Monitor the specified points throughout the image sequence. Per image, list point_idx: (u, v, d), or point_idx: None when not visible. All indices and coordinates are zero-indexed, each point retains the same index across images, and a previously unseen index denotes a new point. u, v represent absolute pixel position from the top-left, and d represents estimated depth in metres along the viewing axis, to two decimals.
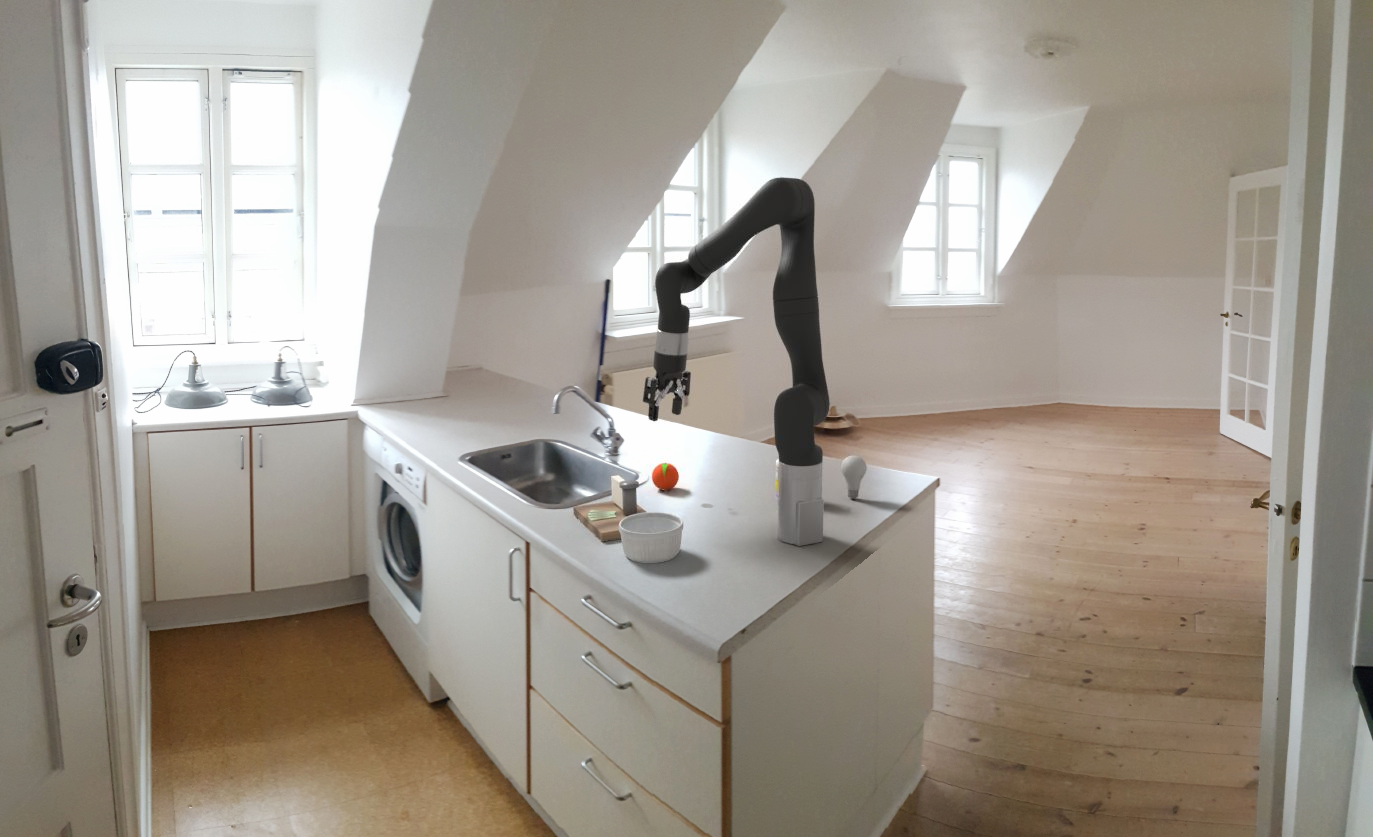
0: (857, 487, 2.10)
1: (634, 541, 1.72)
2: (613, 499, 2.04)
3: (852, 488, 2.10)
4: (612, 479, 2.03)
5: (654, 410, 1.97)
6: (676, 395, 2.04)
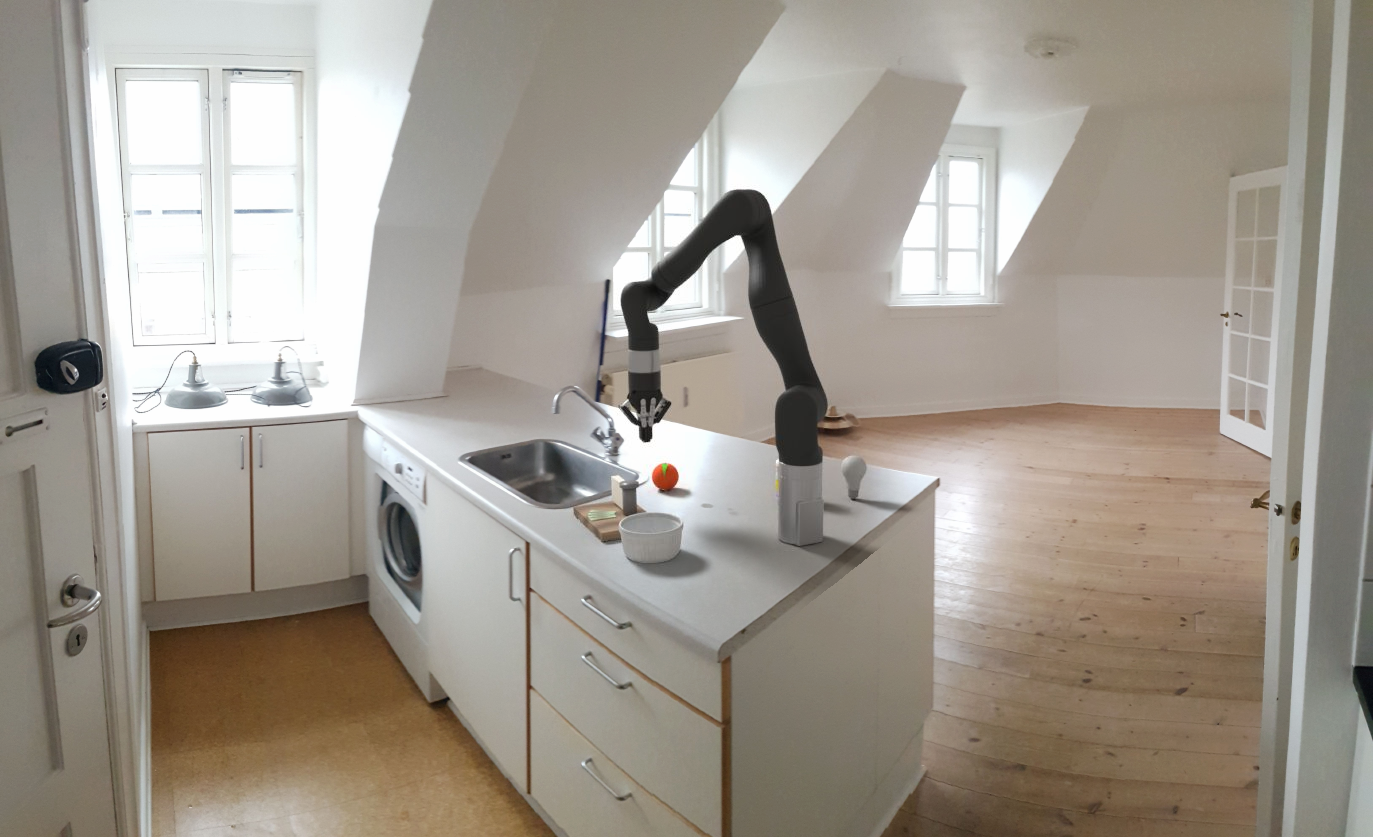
0: (857, 487, 2.10)
1: (634, 541, 1.72)
2: (613, 499, 2.04)
3: (852, 488, 2.10)
4: (612, 479, 2.03)
5: (642, 431, 2.01)
6: (646, 422, 2.02)
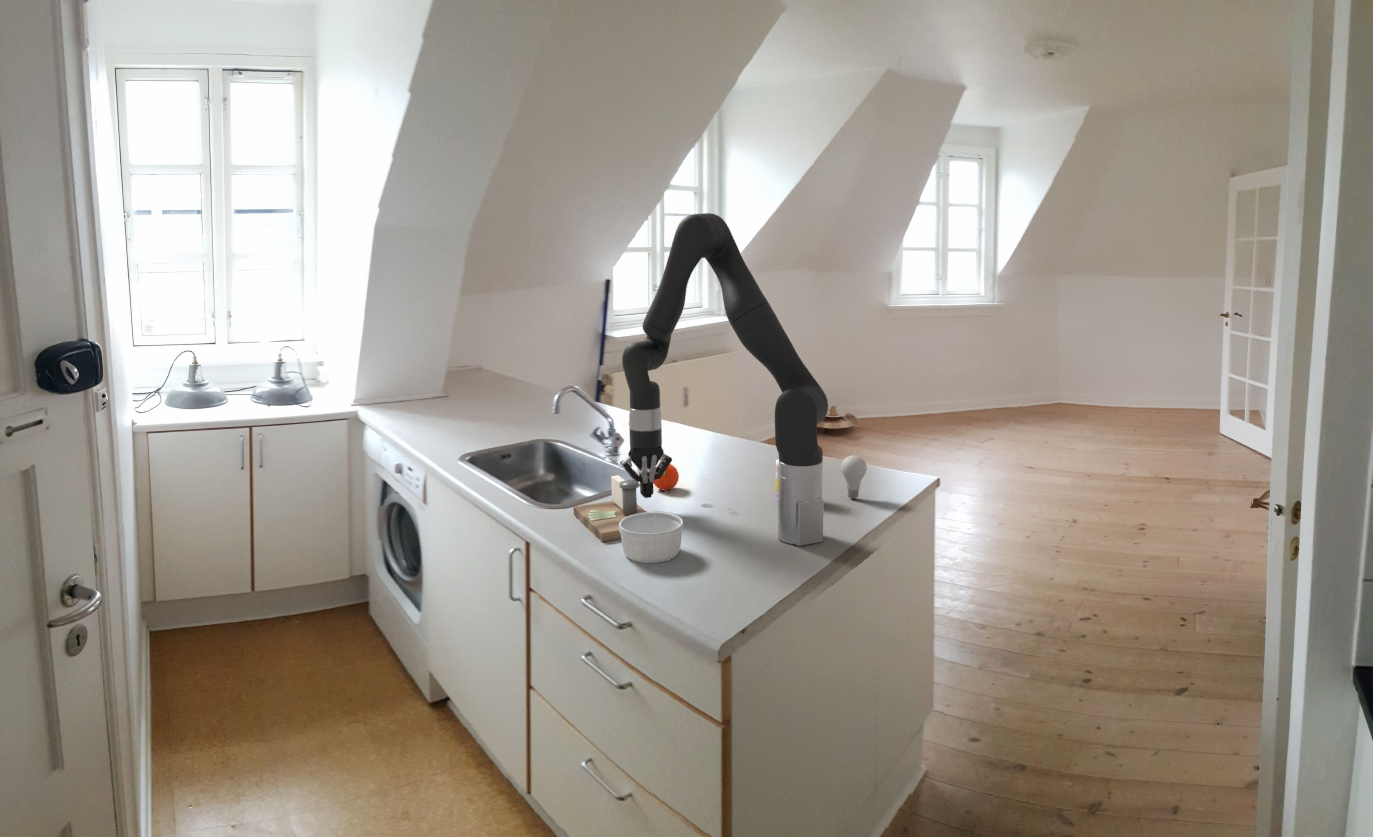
0: (857, 487, 2.10)
1: (634, 541, 1.72)
2: (613, 499, 2.04)
3: (852, 488, 2.10)
4: (612, 479, 2.03)
5: (643, 487, 2.04)
6: (647, 478, 2.05)
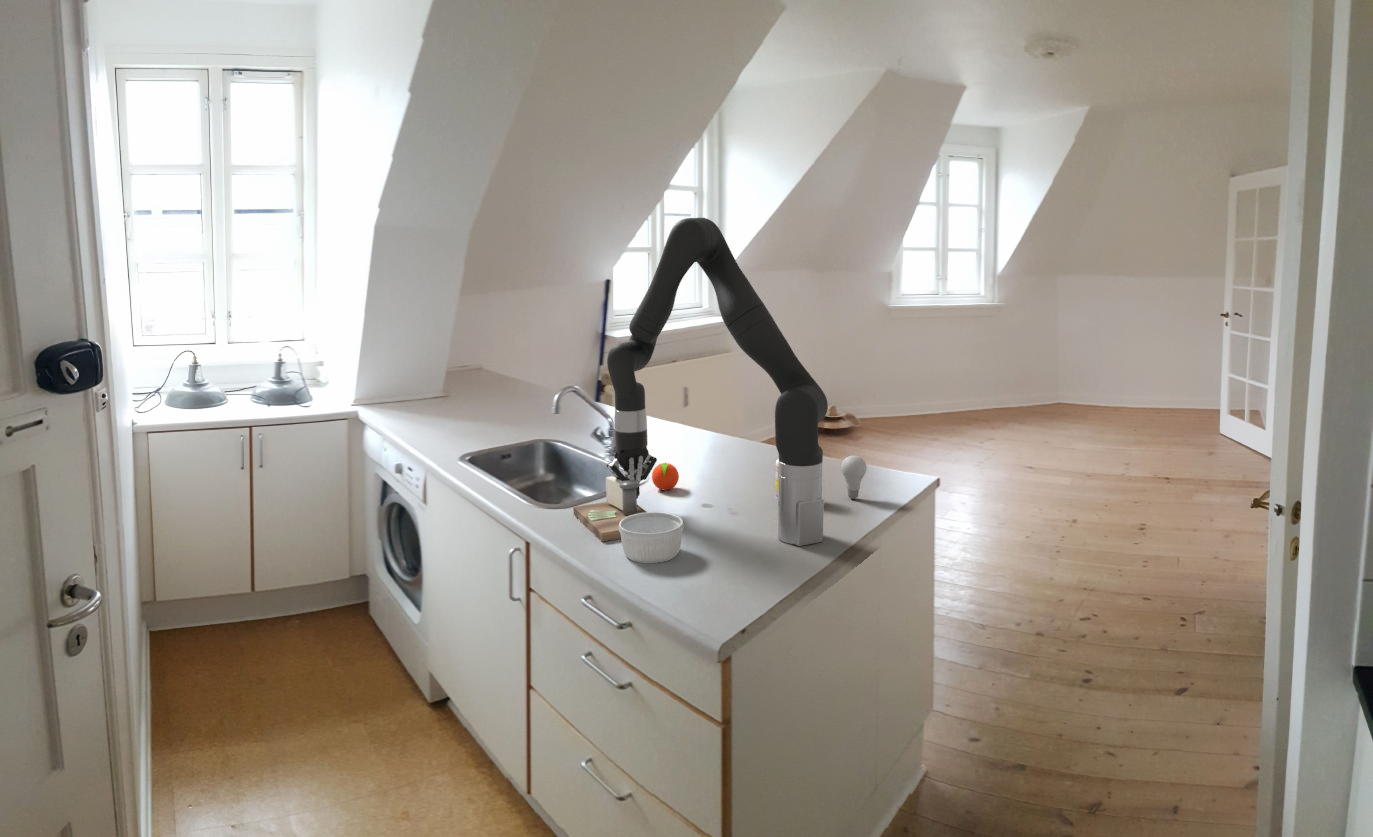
0: (857, 487, 2.10)
1: (634, 541, 1.72)
2: (608, 500, 2.03)
3: (852, 488, 2.10)
4: (607, 480, 2.02)
5: None
6: None
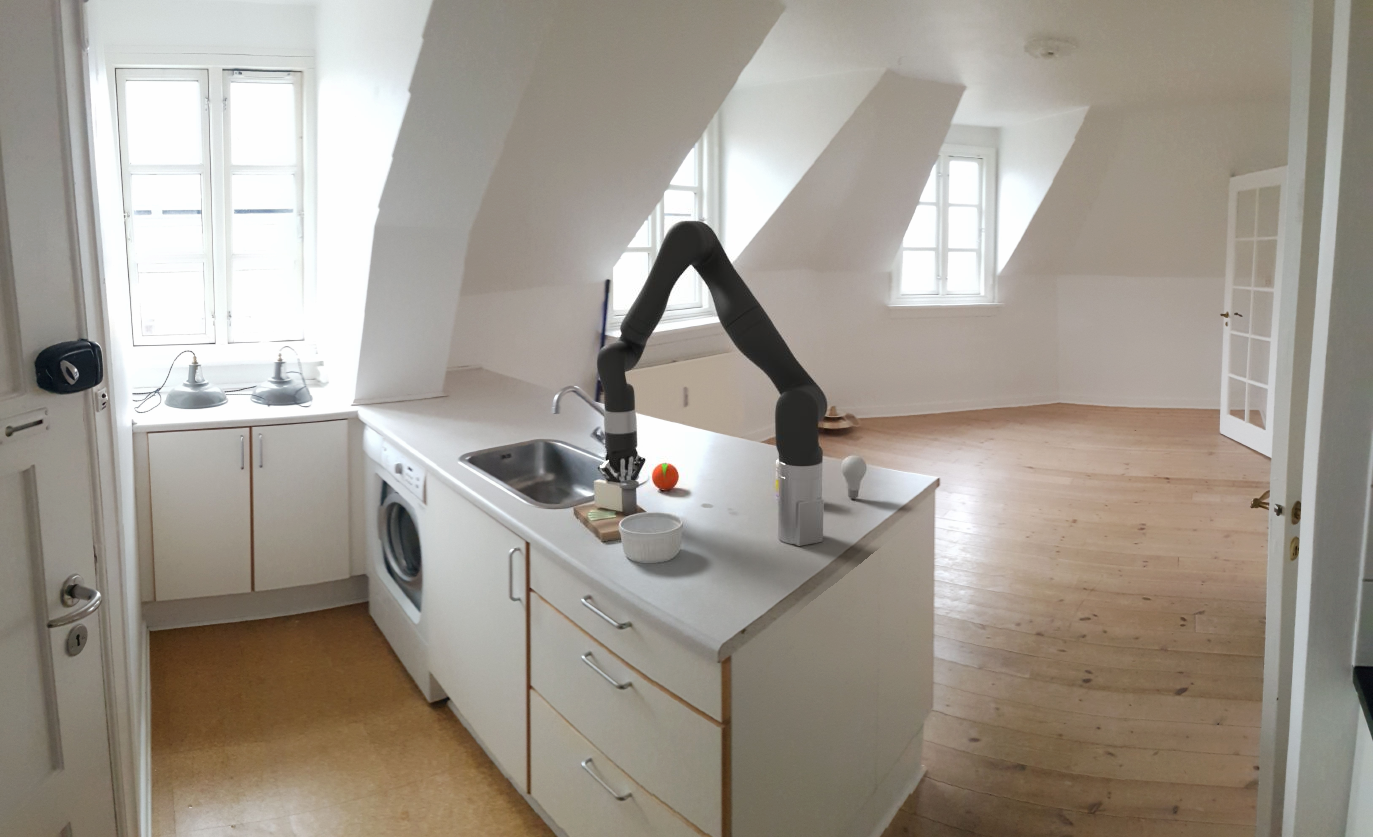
0: (857, 487, 2.10)
1: (634, 541, 1.72)
2: (598, 504, 2.01)
3: (852, 488, 2.10)
4: (596, 484, 2.00)
5: None
6: None
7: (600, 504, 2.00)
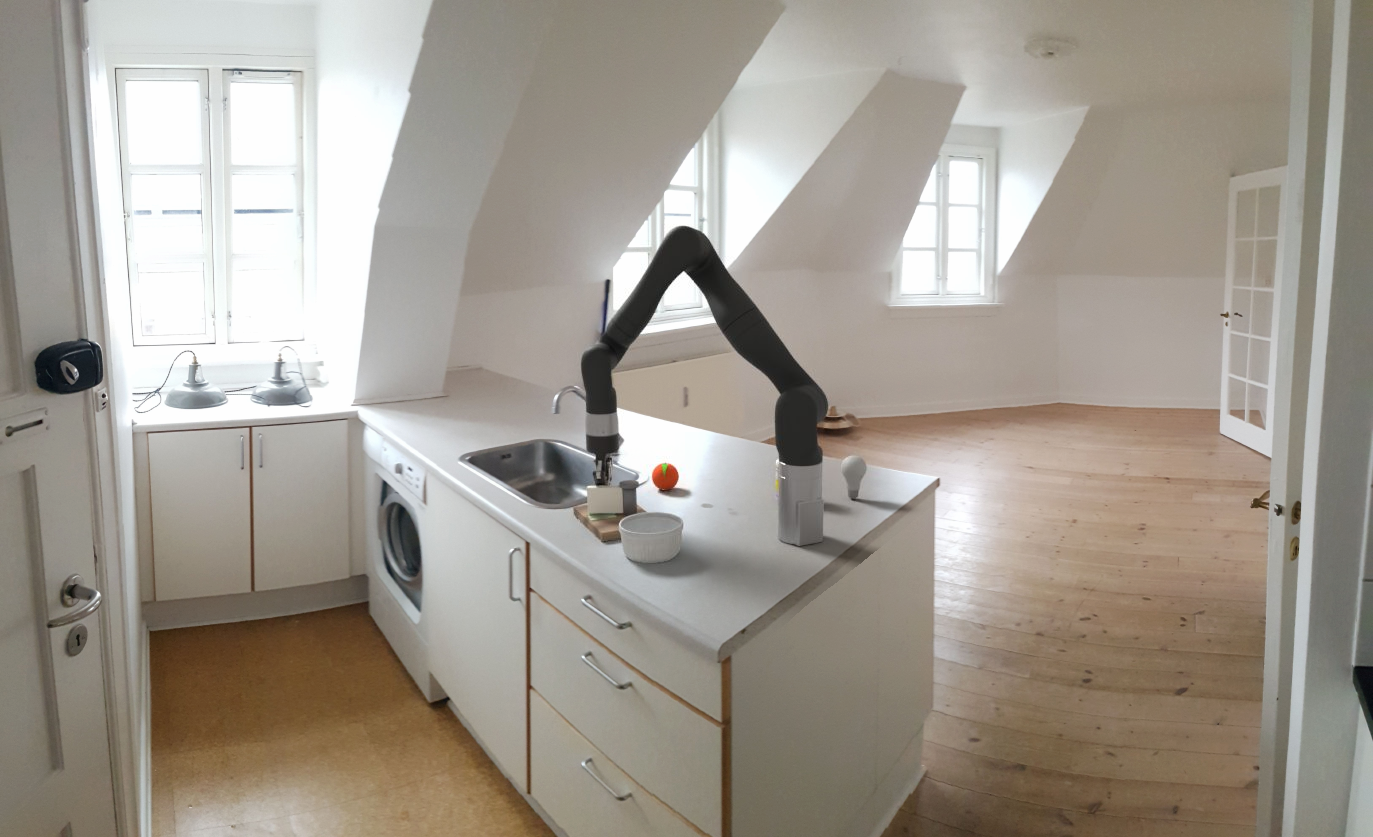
0: (857, 487, 2.10)
1: (634, 541, 1.72)
2: (592, 510, 1.96)
3: (852, 488, 2.10)
4: (590, 490, 1.95)
5: None
6: None
7: (595, 510, 1.96)
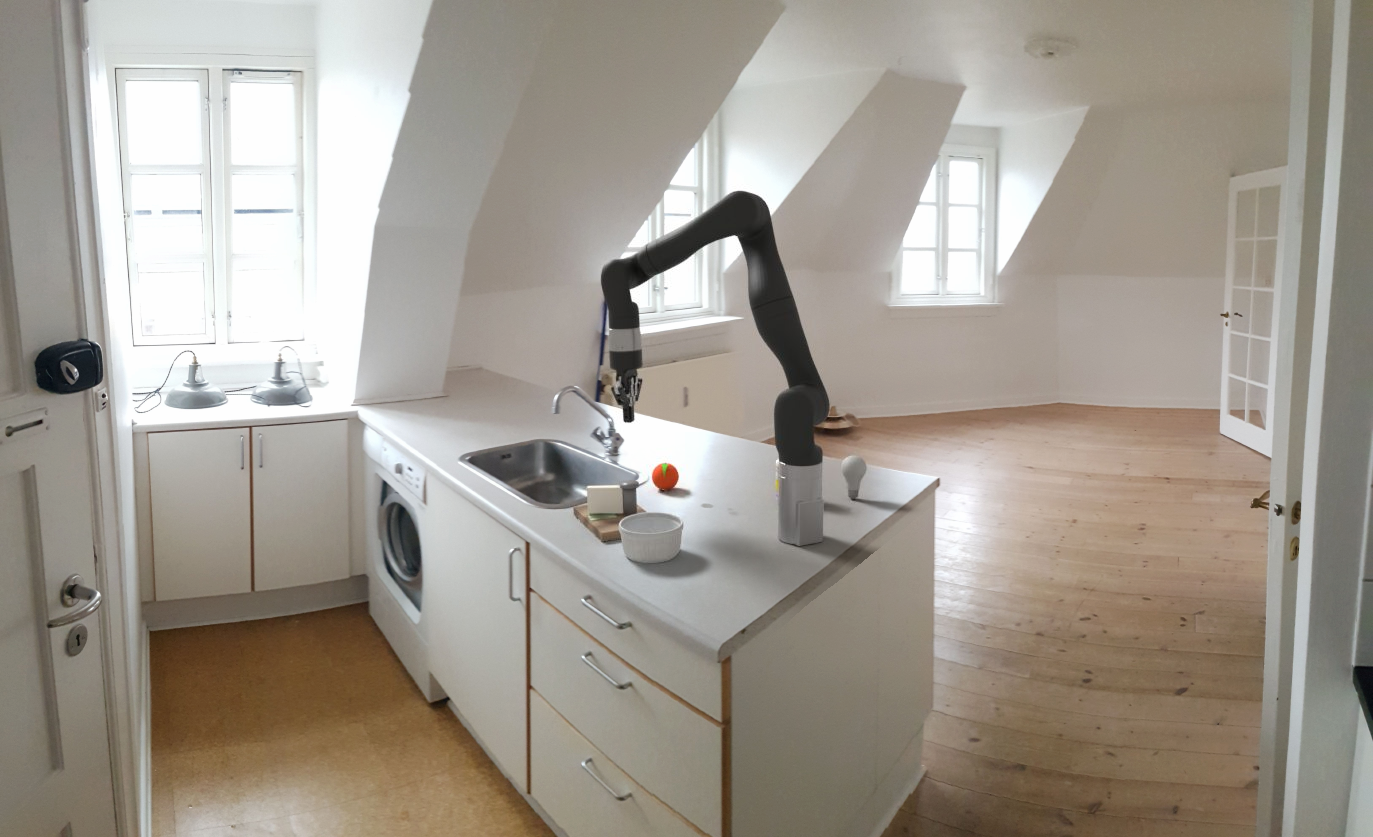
0: (857, 487, 2.10)
1: (634, 541, 1.72)
2: (592, 510, 1.96)
3: (852, 488, 2.10)
4: (590, 490, 1.95)
5: (629, 411, 1.99)
6: None
7: (595, 510, 1.96)
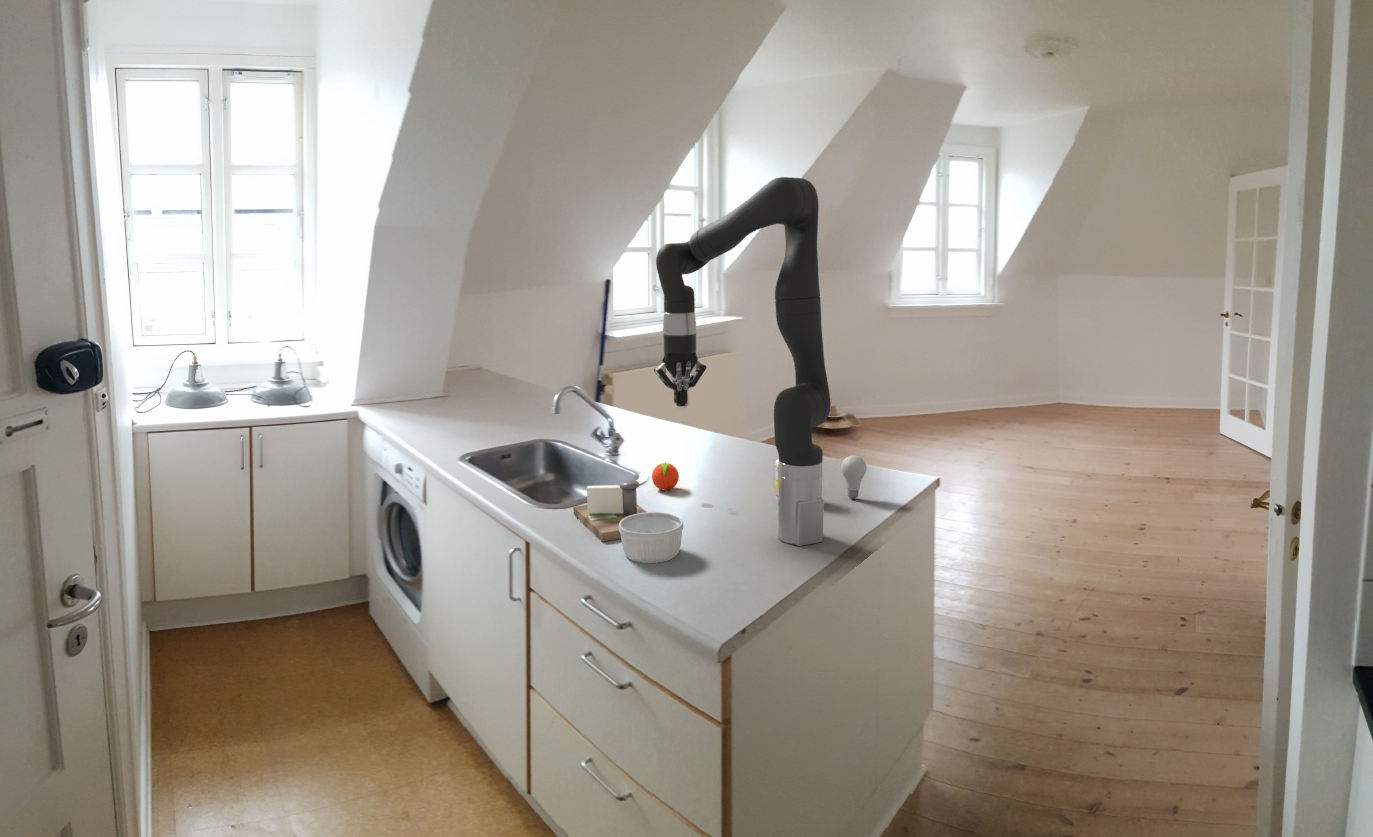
0: (857, 487, 2.10)
1: (634, 541, 1.72)
2: (592, 510, 1.96)
3: (852, 488, 2.10)
4: (590, 490, 1.95)
5: (677, 395, 2.00)
6: None
7: (595, 510, 1.96)
